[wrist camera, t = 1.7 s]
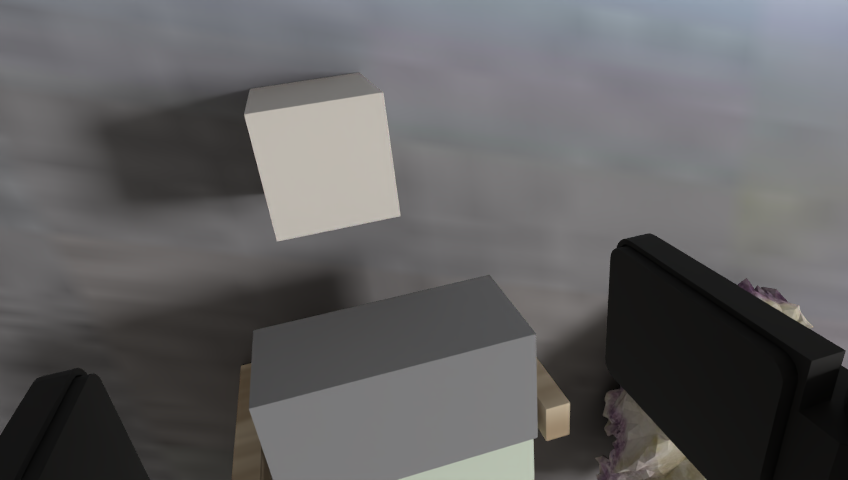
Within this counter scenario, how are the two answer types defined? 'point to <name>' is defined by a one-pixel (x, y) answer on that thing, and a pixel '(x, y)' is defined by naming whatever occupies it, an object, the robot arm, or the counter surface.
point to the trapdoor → (400, 389)
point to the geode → (643, 440)
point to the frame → (255, 474)
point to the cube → (322, 154)
